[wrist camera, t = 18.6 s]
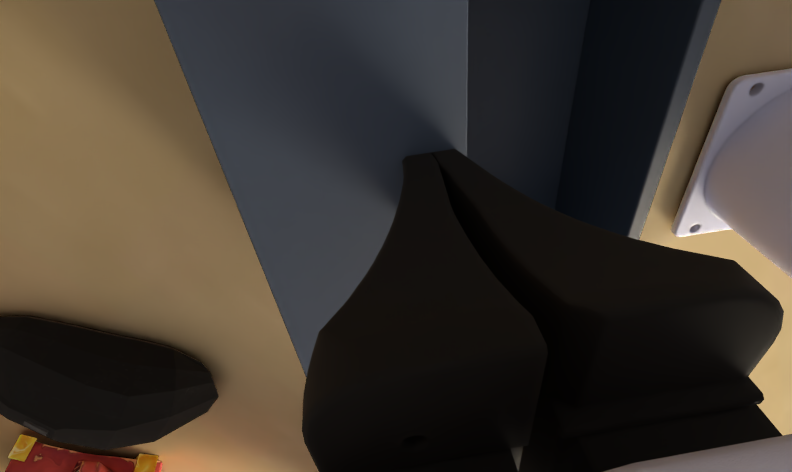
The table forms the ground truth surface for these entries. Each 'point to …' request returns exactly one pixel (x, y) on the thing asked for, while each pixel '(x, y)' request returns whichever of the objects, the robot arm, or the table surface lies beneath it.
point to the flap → (321, 126)
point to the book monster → (72, 460)
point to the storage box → (582, 98)
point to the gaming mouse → (96, 384)
